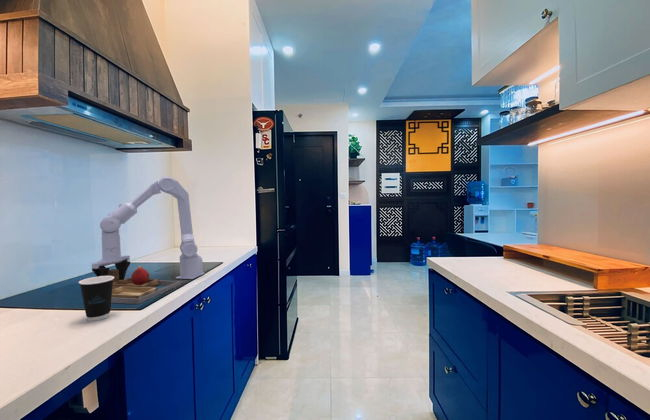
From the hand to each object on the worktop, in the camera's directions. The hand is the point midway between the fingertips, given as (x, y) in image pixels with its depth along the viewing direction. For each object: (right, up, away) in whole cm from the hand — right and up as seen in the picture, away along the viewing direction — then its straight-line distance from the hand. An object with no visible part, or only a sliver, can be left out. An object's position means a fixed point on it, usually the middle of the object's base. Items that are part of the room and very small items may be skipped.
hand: (112, 282), depth 110 cm
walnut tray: (+8, -1, -1) cm, 8 cm away
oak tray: (+13, -2, -12) cm, 18 cm away
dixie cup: (+18, -3, -29) cm, 34 cm away
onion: (+12, -1, -2) cm, 12 cm away
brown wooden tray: (+16, -2, -8) cm, 18 cm away
